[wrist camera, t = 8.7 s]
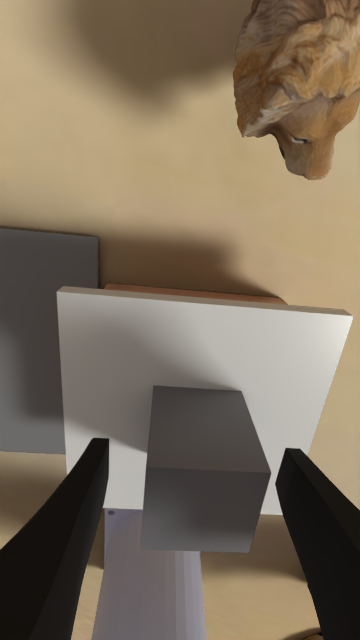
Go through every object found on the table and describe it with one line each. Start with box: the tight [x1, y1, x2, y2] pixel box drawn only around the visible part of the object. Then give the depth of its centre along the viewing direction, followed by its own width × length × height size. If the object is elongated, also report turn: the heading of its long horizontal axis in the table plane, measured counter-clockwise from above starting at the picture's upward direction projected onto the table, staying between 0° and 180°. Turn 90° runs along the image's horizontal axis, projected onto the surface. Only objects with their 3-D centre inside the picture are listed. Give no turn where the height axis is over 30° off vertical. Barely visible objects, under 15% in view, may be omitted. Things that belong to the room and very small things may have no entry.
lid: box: [57, 286, 354, 553], centre depth 13 cm, size 12×12×5 cm
